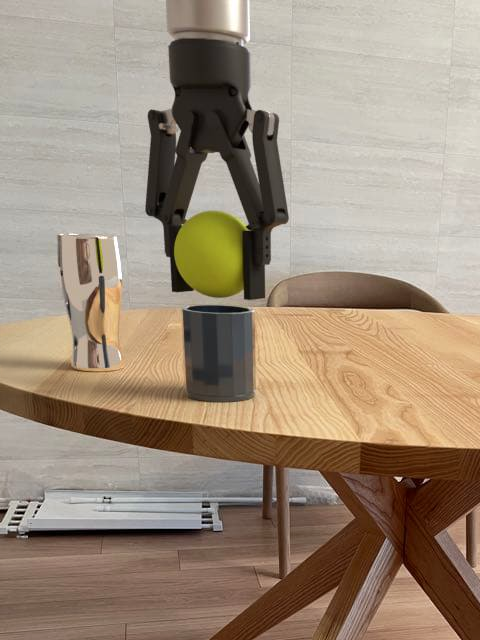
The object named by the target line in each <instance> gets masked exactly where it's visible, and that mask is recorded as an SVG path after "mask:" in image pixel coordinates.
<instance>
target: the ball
mask: <svg viewBox="0 0 480 640" xmlns="http://www.w3.org/2000/svg"><path fill="white" fill-rule="evenodd" d="M182 225H183V226H182V227H181V229H180V230H179V232H178V234H177V237H176V240H175V246H174V256H175V262H176V265H177V268H178V270H179V272H180V274H181V276H182V277H183V279H184V280H185V281H186V283H187V284H188V285H189V286H190V287H192V288H193V289H194V291H196V292H197V293H200V294H201V295H203V296H206V297H210V298H215V299H216V298H217V299H223V298H229V297H232V296H236V295H237V294H239V293H241V292H242V291H244V280H243V238H242V230H248V229H247V228H246V227H245V226H247V225H246V224H245V222H243V221H242V220H241V219H240V218H238V217H237V216H235V215H233V214H231V213H229V212H226V211H222V210H205V211H202V212H199V213H196V214H194V215H192V216H191V217H189V219H186V222H185V223H184V224H182Z"/></svg>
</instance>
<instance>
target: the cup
mask: <svg viewBox="0 0 480 640" xmlns="http://www.w3.org/2000/svg"><path fill="white" fill-rule="evenodd" d="M180 314H181V316H180V317H181V337H182V357H183V377H184V380H183V381H184V389H185V395H186V397H187V398H190V399H193V400H196V401H202V402H212V403H213V402H214V403H232V402H243V401H245V400H246V401H247V400H250V399H253V398H255V397H256V390H257V366H256V365H257V364H256V362H257V361H256V360H257V359H256V357H257V356H256V310H255V309H254V308H251V307H247V306H240V305H233V304H232V305H228V304H193V305H184V306H183V307H181V308H180Z"/></svg>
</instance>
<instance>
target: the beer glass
mask: <svg viewBox="0 0 480 640" xmlns="http://www.w3.org/2000/svg"><path fill="white" fill-rule="evenodd" d="M118 241H119V240H118V236H117V235H111V234H98V233H97V234H96V233H64V232H63V233H56V261H57V262H56V265H57V276H58V284H59V288H60V293H61V298H62V300H63V304H64V308H65V312H66V315H67V319H68V322H69V326H70V333H71V340H72V350H71V359H70V360H71V361H70V366H71V368H72V369H73V370H77V371H82V372H113V371H118V370H123V369H124V368H125V367H126V365H125V360H124V359H125V358H124V356H123V355H124V354H123V351H122V347H121V341H120V320H121V310H122V301H123V271H122V261H121V255H120V248H119V242H118Z"/></svg>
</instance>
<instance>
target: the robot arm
mask: <svg viewBox="0 0 480 640" xmlns="http://www.w3.org/2000/svg"><path fill="white" fill-rule="evenodd" d="M165 12H166V13H165V14H166V17H165V18H166V32H167V34H168V35H169V36H170V37H172V38H173V39H174V40H172V41H170V44H168V46H167V48H168V50H167V51H168V65H169V67H168V71H169V83H170V84H171V87H172V88H173V91H174V100H173V103H172V105H171V108H169V109H165V110H157V109H149V110H148V112H147V122H148V127H149V133H150V142H149V143H150V144H149V156H148V169H147V182H146V194H145V206H144V207H145V208H144V209H145V210H144V211H145V214H146V215H147V216H148V217H153V218H155V219H157V220H158V221H160V222H161V224H162V228H163V243H164V254H165V256H166V258H169V264H170V281H171V283H170V284H171V293H187V292H194V291H195V290H194V289H193V288H192V287H190V286H189V285H188V284H187V283H186V281H185V280H184V279H183V277H182V276H181V274H180V272H179V270H178V268H177V265H176V262H175V256H174V246H175V240H176V237H177V234H178V232H179V230H180V229H181V227H182V226H183V225H184V223H185V222H186V221H187V219H186V216H187V213H188V209H189V207H190V203H191V200H192V197H193V193H194V191H195V187H196V184H197V180H198V177H199V174H200V170H201V167H202V164H203V163H204V162H205V161H206V160H207V158H208V155H209V154H214V153H219V156H220V157H221V159H222V160H223V162H225V163H226V166H227V169H228V172H229V174H230V177H231V179H232V183H233V185H234V188H235V191H236V193H237V196H238V198H239V201H240V204H241V206H242V209H243V212H244V215H245V218H246V220H247V223H248V224H247V225H246V226H245V227H246V228H247V229H248V230H242V238H243V280H244V290H243V300H246V301H254V300H261V299H266V266H269V265H270V264H271V260H272V254H271V253H272V231H273V229H274V228H276V227H279V226H281V225H286V224H288V222H289V221H290V220H289V219H290V218H289V210H288V203H287V197H286V191H285V183H284V177H283V171H282V164H281V159H280V151H279V144H278V134H279V127H280V126H279V125H280V117H279V115H278V114H277V113H275V112H271V111H267V110H262V109H257V110H254V109H253V107H252V105H251V103H250V99H249V98H250V97H249V94H250V93H249V92H250V91H251V89H252V65H251V64H252V60H251V59H252V58H251V57H252V56H251V55H252V54H251V52H250V51H249V49H248V47H245V46H244V45H245V44H247V43H248V42H249V41H250V39H251V30H250V28H251V26H250V24H251V23H250V0H165ZM248 130H249V131H250V133H251V134H252V135H251V137H252V149H253V154H254V160H255V166H256V172H257V174H256V172H255V169H254V166H253V163H252V161H251V158H252V153H251V150H250V148H249V145H248V142H247V139H246V136H245V134H246V132H247V131H248ZM179 131H180V132H179ZM178 132H179V136H178V139H177V133H178Z"/></svg>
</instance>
